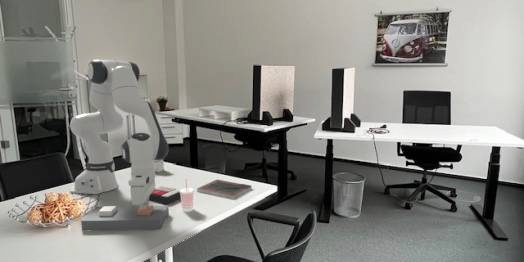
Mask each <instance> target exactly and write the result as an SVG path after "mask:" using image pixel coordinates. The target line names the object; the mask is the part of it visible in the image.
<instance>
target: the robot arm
mask: <svg viewBox="0 0 524 262" xmlns="http://www.w3.org/2000/svg"><path fill="white" fill-rule="evenodd" d="M86 73H87V78H88V80H89V81H90V82H91V86H90V93H89V99H88V100H89V103H90V105H91V106H92V107H94V108H95V109H96V110H97V111H96V112H89V113H88V112H87V113H81V114H79V115H76V116H73V117H71V120H70V122H69V129H70V131H71V132H72V134H73V135H74V136H76V137H77V138H79V139H80V140H81V141H82V142H83V143H84V144H85V147H86V149H87V154H88V161H87V162H86V163H85V164H84V165H83V167H84V168H85V169H84V170H83V171H82V172H81V173H79V175H77V176H76V178H75V180H74V185H72V186H71V188H70V189H69V192H70V193H71V194H72V193H73V194H90V195H98V194H102V193H105V192H111V191H113V190H116V189H117V188H118V187H119V184H118V181H117V178H116V174H115V168H116V167H115V160H114V159H113V158H114V157H113V148H112V145H111V144H110V143H109V142H108V141H105V140H103V139H102V138H101V135H103V134H109V133H115V132H117V131H119V130H121V129H122V127H123V125H124V118H123V116H122V114H121V113H120V112H119V111H117V109H116V108H118V109H119V110H120V111H122V112H124V113H127V114H131V115H135V116H138V117H140V118H141V119H143V120H144V121H145V123H146V125H147V128H148V130H149V133H150V134H148V133H145V132H138V133H134V134H133V133H132V135H130V138H129V139H127V140H125V141H124V142H122V145H121V154H122V156H121V158H122V159H123V160H124V161H126V162H127V163H130V164H131V167H130V176H129V180H128V186H130V199H131V203H132V206H142V209H147V207H148V206H150V204H149V202H150V200H149V196H150V195H151V193H152V192H153V191H154V189H155V188H156V179H155V178H156V172H155V167H154V163H153V160H162V159H163V160H164V159H165V158H166V157H167V156H168V153H169V152H170V151H169V150H170V149H169V144H168V141H167V139H166V137H165V135H164V133H163V131H162V128H161V126H160V123H159V121H158V118H157V116H156V114H155V113H156V112H155V111H154V109H153V106H152V104H151V102H149V101H148V100H146V99H145V98H144V97H143V95H142V94H141V91H140V87H139V83H138V81H139V79H140V75H141V74H140V67H139V66H138V64H137V63H135V62H131V61H123V60H120V59H119V60H118V59H114V60H113V59H102V60H101V59H93V60H91V61H90V62H89V63H88V65H87V72H86Z"/></svg>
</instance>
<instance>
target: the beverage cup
mask: <svg viewBox="0 0 524 262" xmlns="http://www.w3.org/2000/svg"><path fill="white" fill-rule="evenodd" d="M179 191H180V196H181V199H180V203H181V210H182V212H185V213H189V212H192V211H193V210H194V191H195V189H194V188H193V187H188V179H187V178H185V187H183V188H179Z"/></svg>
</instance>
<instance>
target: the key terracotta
mask: <svg viewBox="0 0 524 262" xmlns="http://www.w3.org/2000/svg"><path fill="white" fill-rule="evenodd" d="M153 206H154V205H149V206H148V207H147V209H142V206H140V207H139V209H138V210H137V215H138V216H143V215H151V214H152V213H153V211H154V209H153Z"/></svg>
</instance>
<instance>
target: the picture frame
mask: <svg viewBox="0 0 524 262" xmlns="http://www.w3.org/2000/svg"><path fill="white" fill-rule="evenodd" d="M251 190H252V185H250V184H244V183H237V182H233V181H227V180H223V179H214V180H213V181H210V182H208V183H205V184H204V185H202V186H200V187H197V188H196V192H198V193H201V194H207V195H211V196H217V197H220V198H225V199H231V200H234V199H237V198H238V197H240V196H242V195H243V194H244V193H248V191H251Z"/></svg>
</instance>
